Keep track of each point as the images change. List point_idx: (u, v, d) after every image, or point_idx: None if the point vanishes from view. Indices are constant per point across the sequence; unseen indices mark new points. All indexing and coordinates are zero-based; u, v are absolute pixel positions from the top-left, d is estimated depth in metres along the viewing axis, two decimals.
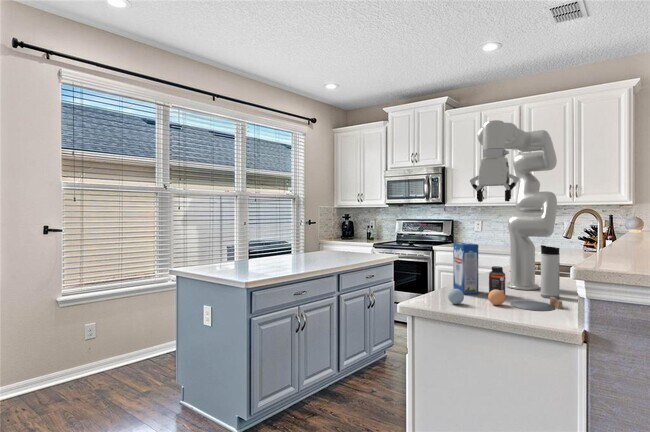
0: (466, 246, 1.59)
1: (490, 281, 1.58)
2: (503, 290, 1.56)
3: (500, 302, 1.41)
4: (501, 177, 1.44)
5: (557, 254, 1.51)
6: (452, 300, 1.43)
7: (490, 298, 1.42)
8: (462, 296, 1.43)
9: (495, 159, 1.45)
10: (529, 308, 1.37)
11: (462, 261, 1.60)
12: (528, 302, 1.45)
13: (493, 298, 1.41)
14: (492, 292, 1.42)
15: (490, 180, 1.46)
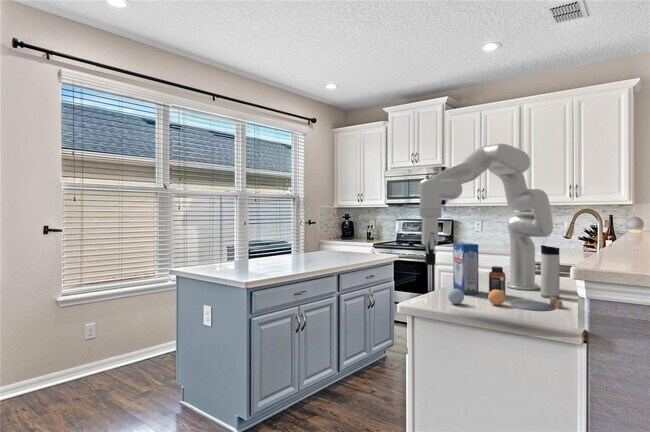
0: (466, 246, 1.59)
1: (490, 281, 1.58)
2: (503, 290, 1.56)
3: (500, 302, 1.41)
4: None
5: (557, 254, 1.51)
6: (452, 300, 1.43)
7: (490, 298, 1.42)
8: (462, 296, 1.43)
9: None
10: (529, 308, 1.37)
11: (462, 261, 1.60)
12: (528, 302, 1.45)
13: (493, 298, 1.41)
14: (492, 292, 1.42)
15: None
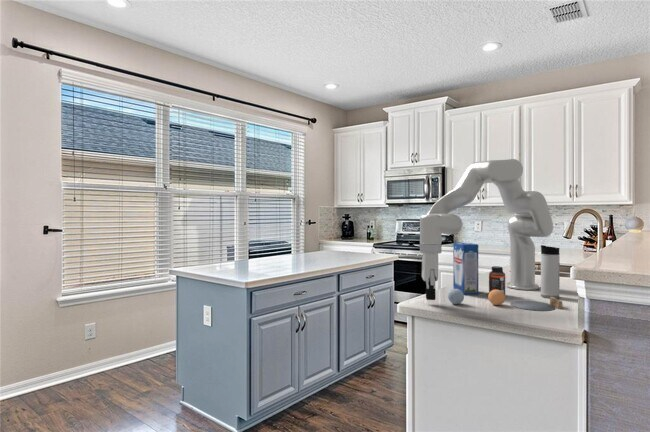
0: (466, 246, 1.59)
1: (490, 281, 1.58)
2: (503, 290, 1.56)
3: (500, 302, 1.41)
4: None
5: (557, 254, 1.51)
6: (452, 300, 1.43)
7: (490, 298, 1.42)
8: (462, 296, 1.43)
9: None
10: (529, 308, 1.37)
11: (462, 261, 1.60)
12: (528, 302, 1.45)
13: (493, 298, 1.41)
14: (492, 292, 1.42)
15: None
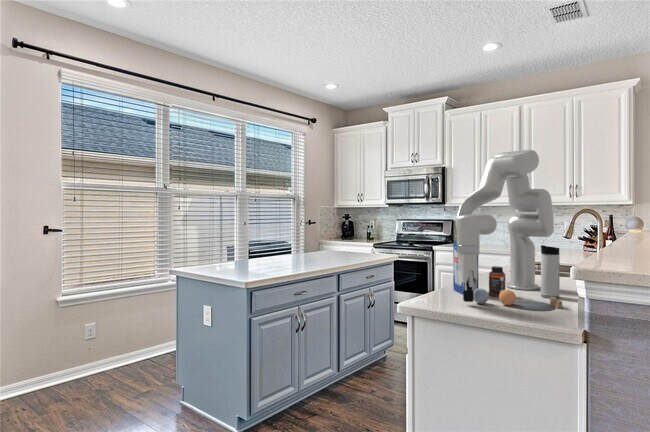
0: None
1: (490, 281, 1.58)
2: None
3: (506, 301, 1.40)
4: None
5: (557, 254, 1.51)
6: (485, 292, 1.44)
7: (506, 291, 1.41)
8: (477, 297, 1.44)
9: None
10: (529, 308, 1.37)
11: None
12: (528, 302, 1.45)
13: (508, 294, 1.40)
14: (512, 292, 1.41)
15: None
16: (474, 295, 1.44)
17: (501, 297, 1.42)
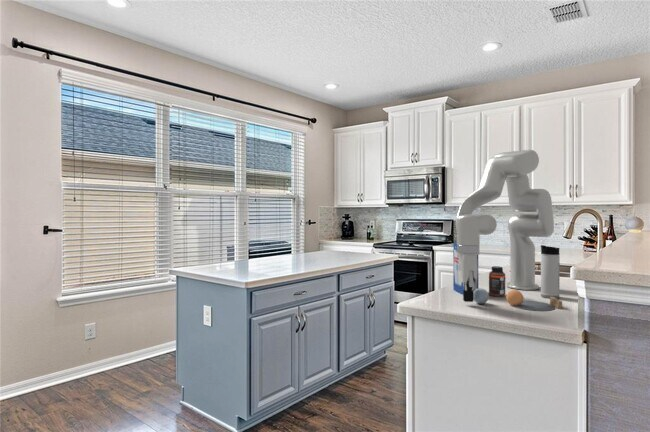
0: None
1: (490, 281, 1.58)
2: (503, 290, 1.56)
3: (512, 298, 1.40)
4: None
5: (557, 254, 1.51)
6: (485, 292, 1.44)
7: (519, 292, 1.41)
8: (477, 297, 1.44)
9: None
10: (529, 308, 1.37)
11: None
12: (528, 302, 1.45)
13: (519, 295, 1.40)
14: None
15: None
16: (474, 295, 1.44)
17: (511, 292, 1.41)
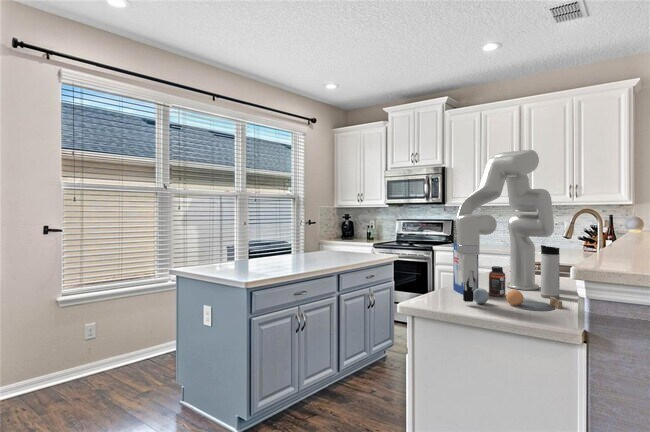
0: None
1: (490, 281, 1.58)
2: (503, 290, 1.56)
3: (512, 298, 1.40)
4: None
5: (557, 254, 1.51)
6: (485, 292, 1.44)
7: (519, 292, 1.41)
8: (477, 297, 1.44)
9: None
10: (529, 308, 1.37)
11: None
12: (528, 302, 1.45)
13: (519, 295, 1.40)
14: None
15: None
16: (474, 295, 1.44)
17: (511, 292, 1.41)
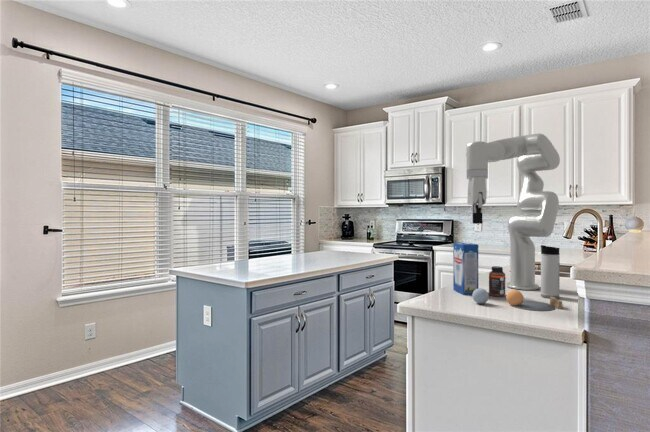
0: (466, 246, 1.59)
1: (490, 281, 1.58)
2: (503, 290, 1.56)
3: (512, 298, 1.40)
4: None
5: (557, 254, 1.51)
6: (485, 292, 1.44)
7: (519, 292, 1.41)
8: (477, 297, 1.44)
9: None
10: (529, 308, 1.37)
11: (462, 261, 1.60)
12: (528, 302, 1.45)
13: (519, 295, 1.40)
14: None
15: None
16: (474, 295, 1.44)
17: (511, 292, 1.41)
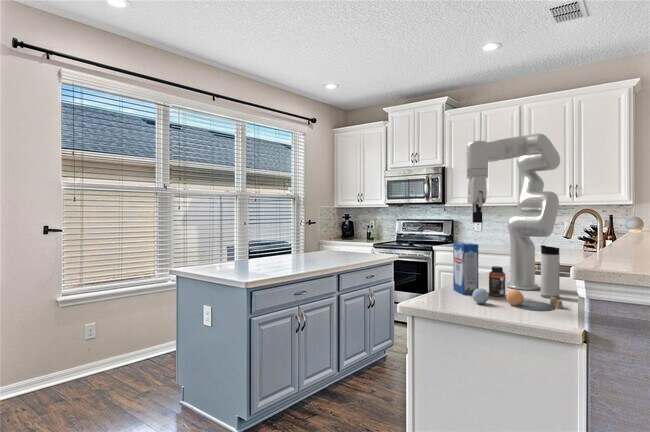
0: (466, 246, 1.59)
1: (490, 281, 1.58)
2: (503, 290, 1.56)
3: (512, 298, 1.40)
4: None
5: (557, 254, 1.51)
6: (485, 292, 1.44)
7: (519, 292, 1.41)
8: (477, 297, 1.44)
9: None
10: (529, 308, 1.37)
11: (462, 261, 1.60)
12: (528, 302, 1.45)
13: (519, 295, 1.40)
14: None
15: None
16: (474, 295, 1.44)
17: (511, 292, 1.41)
